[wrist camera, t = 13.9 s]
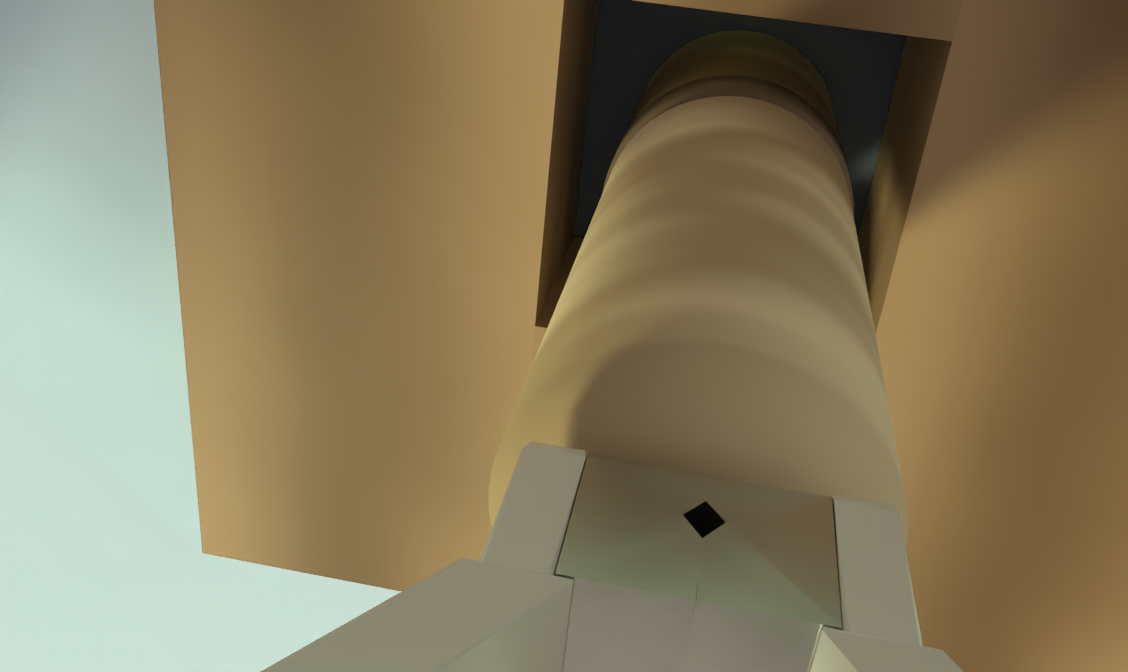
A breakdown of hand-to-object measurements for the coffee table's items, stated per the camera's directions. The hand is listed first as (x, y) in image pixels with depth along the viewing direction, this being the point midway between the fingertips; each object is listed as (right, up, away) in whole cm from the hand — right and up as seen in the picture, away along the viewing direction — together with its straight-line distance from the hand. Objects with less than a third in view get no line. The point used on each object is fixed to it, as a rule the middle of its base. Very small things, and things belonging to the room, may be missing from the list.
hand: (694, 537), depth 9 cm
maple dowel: (+2, +5, +11) cm, 12 cm away
